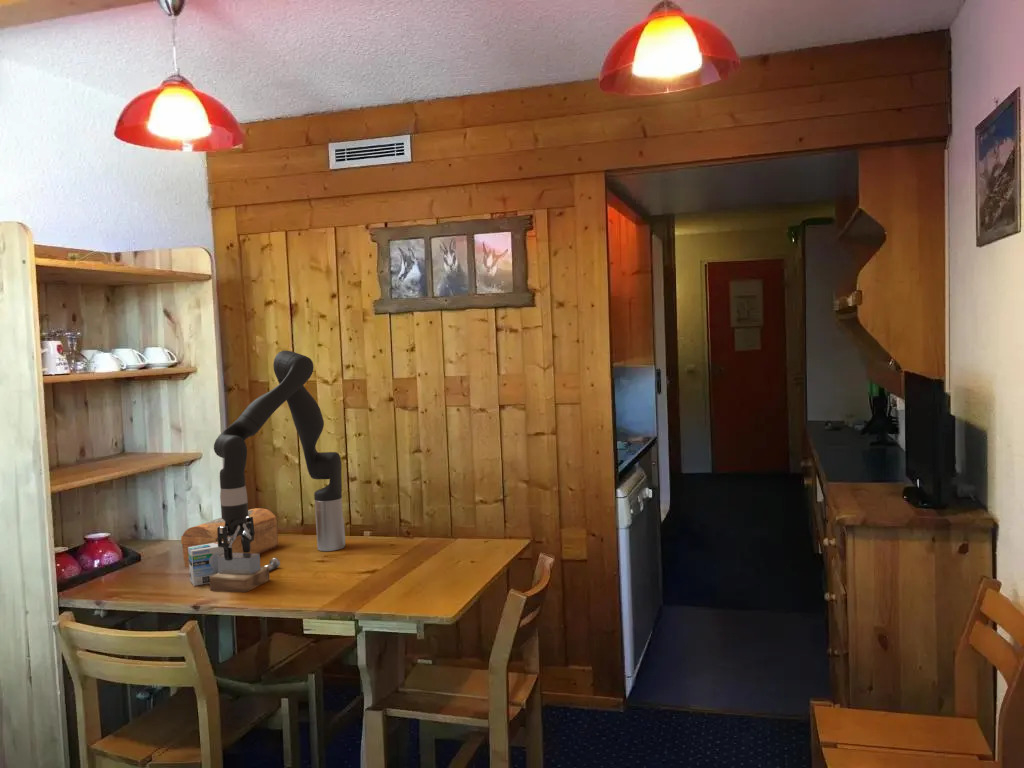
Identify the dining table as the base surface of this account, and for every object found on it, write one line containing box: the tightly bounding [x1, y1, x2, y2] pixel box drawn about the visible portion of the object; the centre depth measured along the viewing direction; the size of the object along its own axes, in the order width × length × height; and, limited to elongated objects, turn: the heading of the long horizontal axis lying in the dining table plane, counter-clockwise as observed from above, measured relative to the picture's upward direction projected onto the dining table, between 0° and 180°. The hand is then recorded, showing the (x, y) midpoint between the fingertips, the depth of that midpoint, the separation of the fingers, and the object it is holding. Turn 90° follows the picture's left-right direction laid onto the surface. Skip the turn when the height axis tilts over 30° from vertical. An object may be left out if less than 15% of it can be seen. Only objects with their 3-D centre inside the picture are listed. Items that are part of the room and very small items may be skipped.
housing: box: [217, 553, 261, 575], centre depth 241 cm, size 11×5×5 cm, turn 73°
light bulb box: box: [188, 541, 224, 587], centre depth 248 cm, size 11×7×11 cm, turn 122°
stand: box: [209, 566, 271, 593], centre depth 242 cm, size 12×12×4 cm
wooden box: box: [180, 507, 279, 568], centre depth 276 cm, size 30×16×14 cm, turn 156°
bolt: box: [263, 557, 281, 572], centre depth 256 cm, size 6×3×3 cm, turn 163°
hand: (238, 556), depth 242 cm, fingers open, 8 cm apart
